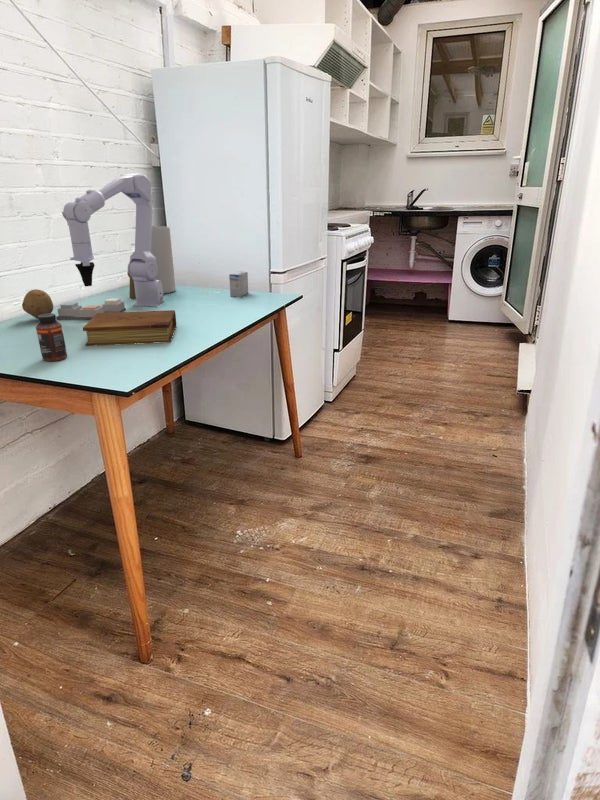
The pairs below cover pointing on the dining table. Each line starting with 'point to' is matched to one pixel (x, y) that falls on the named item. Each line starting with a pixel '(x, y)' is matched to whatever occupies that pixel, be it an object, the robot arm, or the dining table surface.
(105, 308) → the board
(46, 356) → the supplement bottle
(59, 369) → the dining table surface
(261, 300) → the dining table surface
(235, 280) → the medicine box
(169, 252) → the tall grey block
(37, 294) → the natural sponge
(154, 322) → the diary
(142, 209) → the robot arm
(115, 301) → the button cream
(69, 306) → the button slate
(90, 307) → the button terracotta
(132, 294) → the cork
